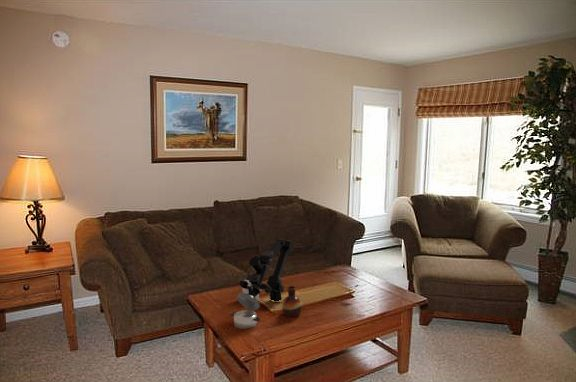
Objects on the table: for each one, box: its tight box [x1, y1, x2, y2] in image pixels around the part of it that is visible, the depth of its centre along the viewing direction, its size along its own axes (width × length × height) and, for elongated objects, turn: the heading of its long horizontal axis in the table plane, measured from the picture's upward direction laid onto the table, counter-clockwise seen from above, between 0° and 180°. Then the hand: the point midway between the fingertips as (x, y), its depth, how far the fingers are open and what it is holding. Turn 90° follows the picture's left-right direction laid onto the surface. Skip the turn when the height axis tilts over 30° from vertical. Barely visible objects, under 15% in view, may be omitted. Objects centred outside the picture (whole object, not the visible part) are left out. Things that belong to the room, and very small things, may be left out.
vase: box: [281, 285, 303, 318], centre depth 218 cm, size 11×11×15 cm
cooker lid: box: [236, 292, 261, 311], centre depth 211 cm, size 13×13×2 cm
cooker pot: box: [230, 309, 261, 330], centre depth 209 cm, size 12×17×5 cm
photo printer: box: [241, 279, 260, 301], centre depth 240 cm, size 10×4×12 cm, turn 72°
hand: (249, 300), depth 212 cm, fingers closed, pressing on cooker lid
